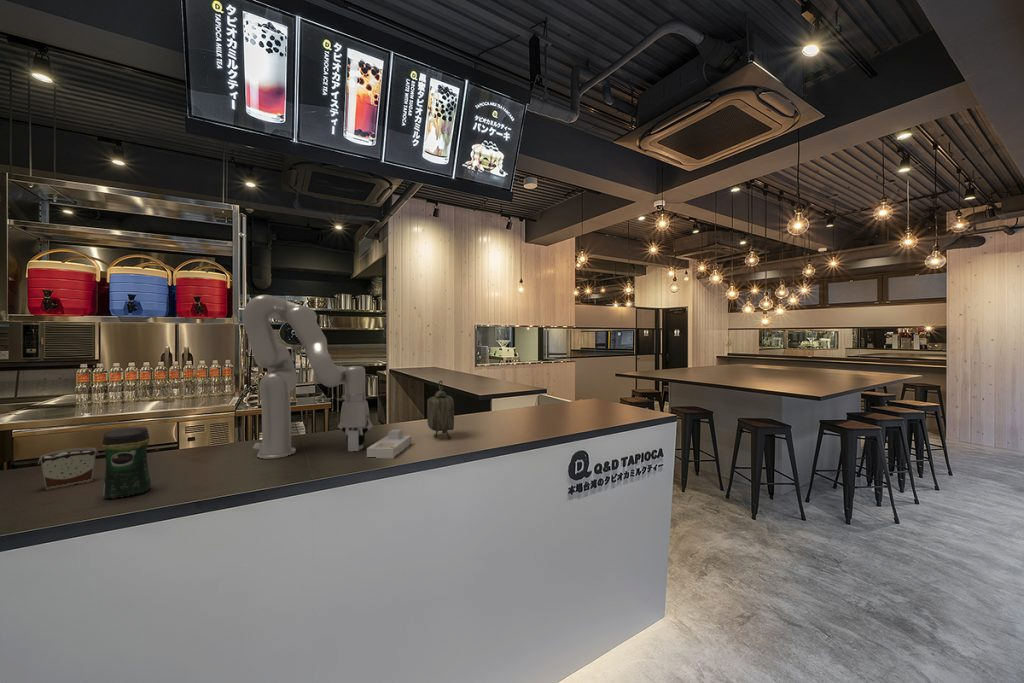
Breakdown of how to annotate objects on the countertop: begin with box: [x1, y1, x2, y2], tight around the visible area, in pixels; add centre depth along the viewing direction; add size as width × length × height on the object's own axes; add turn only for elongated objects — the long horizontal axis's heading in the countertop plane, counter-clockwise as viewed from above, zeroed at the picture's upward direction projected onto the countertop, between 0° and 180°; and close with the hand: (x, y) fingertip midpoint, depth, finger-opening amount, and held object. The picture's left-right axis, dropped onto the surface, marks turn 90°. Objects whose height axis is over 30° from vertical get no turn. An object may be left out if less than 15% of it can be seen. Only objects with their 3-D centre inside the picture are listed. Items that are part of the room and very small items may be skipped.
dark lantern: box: [426, 380, 455, 440], centre depth 180 cm, size 14×9×25 cm, turn 22°
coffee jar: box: [101, 426, 152, 499], centre depth 116 cm, size 10×8×19 cm
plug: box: [347, 428, 364, 452], centre depth 160 cm, size 4×5×10 cm
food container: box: [37, 447, 99, 487], centre depth 124 cm, size 12×6×10 cm, turn 141°
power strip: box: [366, 428, 412, 459], centre depth 159 cm, size 10×20×6 cm, turn 175°
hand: (355, 444), depth 160 cm, fingers closed on plug, 4 cm apart
